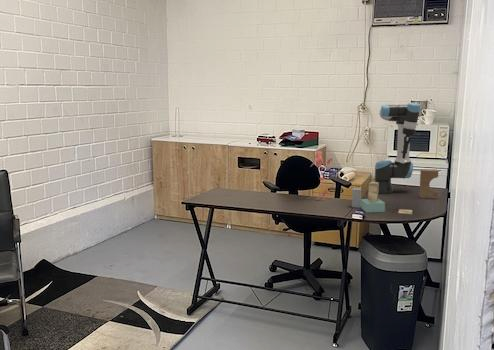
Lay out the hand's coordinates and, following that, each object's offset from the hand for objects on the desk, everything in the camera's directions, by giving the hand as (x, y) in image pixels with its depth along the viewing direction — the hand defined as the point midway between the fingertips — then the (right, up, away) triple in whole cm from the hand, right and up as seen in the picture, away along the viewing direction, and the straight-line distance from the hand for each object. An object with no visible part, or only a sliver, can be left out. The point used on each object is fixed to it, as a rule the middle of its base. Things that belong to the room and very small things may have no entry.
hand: (402, 160), depth 295 cm
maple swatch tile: (0, -33, -6) cm, 33 cm away
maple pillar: (-19, -26, +1) cm, 32 cm away
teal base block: (-19, -32, +2) cm, 37 cm away
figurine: (-48, -26, +37) cm, 66 cm away
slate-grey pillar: (-27, -30, +11) cm, 42 cm away
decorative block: (+28, -25, +31) cm, 49 cm away
